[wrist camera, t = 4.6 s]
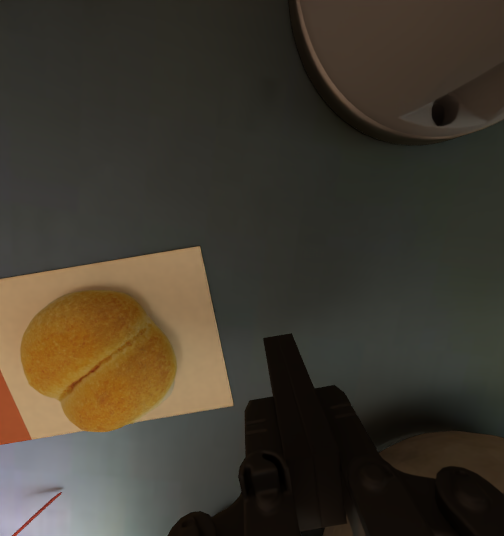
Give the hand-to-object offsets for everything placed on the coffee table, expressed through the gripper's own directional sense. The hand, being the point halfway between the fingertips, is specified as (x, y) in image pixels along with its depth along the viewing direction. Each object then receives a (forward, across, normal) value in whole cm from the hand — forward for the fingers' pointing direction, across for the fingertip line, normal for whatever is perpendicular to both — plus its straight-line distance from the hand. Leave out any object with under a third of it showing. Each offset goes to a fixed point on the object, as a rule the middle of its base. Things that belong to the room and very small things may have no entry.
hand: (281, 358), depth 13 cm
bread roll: (+4, -11, 0) cm, 11 cm away
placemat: (+4, -15, 0) cm, 15 cm away
